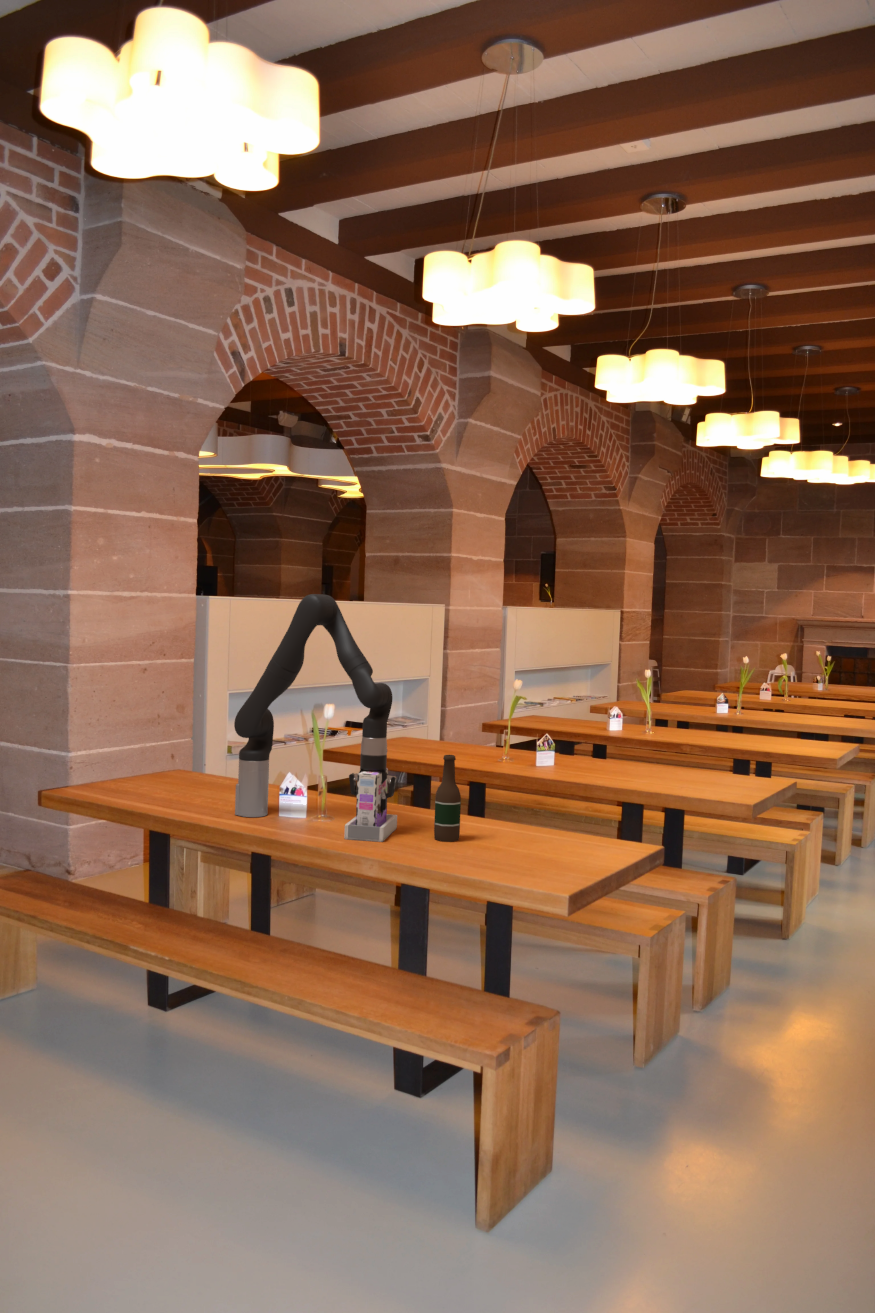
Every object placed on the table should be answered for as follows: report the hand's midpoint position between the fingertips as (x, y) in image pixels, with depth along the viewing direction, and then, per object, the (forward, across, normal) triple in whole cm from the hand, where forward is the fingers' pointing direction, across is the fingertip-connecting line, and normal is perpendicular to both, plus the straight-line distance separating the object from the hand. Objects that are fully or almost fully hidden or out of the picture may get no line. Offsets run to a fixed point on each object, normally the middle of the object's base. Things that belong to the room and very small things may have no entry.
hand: (371, 810), depth 286 cm
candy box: (+5, 0, 0) cm, 5 cm away
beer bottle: (+7, +22, 0) cm, 23 cm away
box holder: (+7, 0, 0) cm, 7 cm away
